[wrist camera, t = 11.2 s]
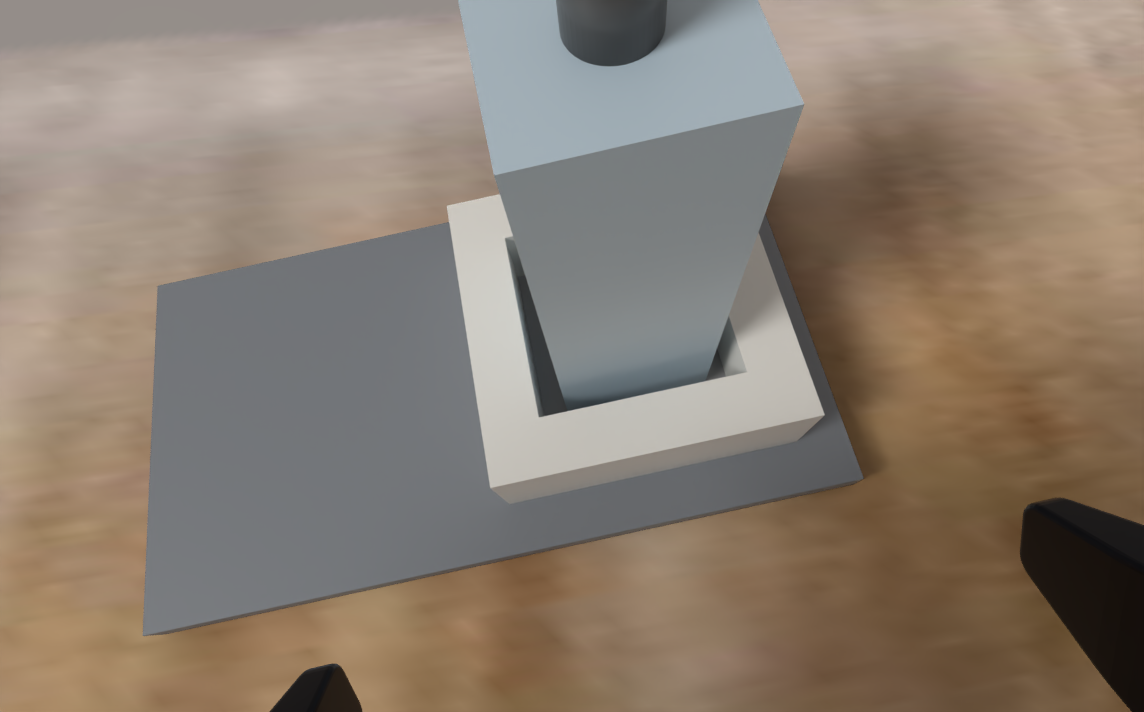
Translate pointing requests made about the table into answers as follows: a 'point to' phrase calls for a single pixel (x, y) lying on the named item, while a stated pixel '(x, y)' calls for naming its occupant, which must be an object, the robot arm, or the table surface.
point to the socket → (629, 426)
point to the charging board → (377, 439)
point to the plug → (631, 173)
